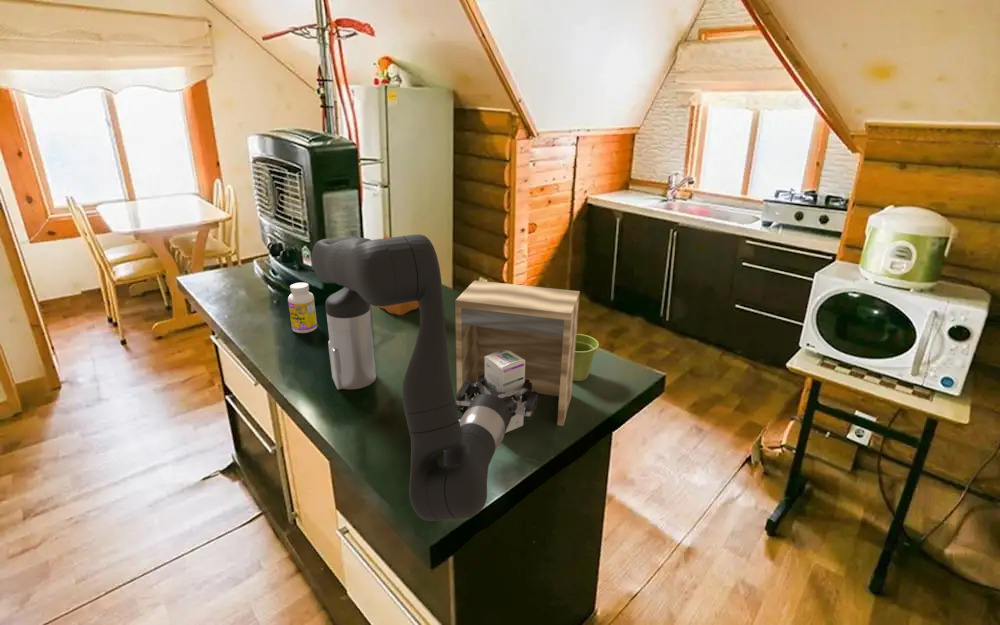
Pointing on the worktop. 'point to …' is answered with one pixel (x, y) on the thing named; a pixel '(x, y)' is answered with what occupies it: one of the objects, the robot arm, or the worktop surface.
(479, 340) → the hutch
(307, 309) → the supplement bottle
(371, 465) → the worktop surface
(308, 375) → the worktop surface
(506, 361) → the syrup box
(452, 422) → the robot arm
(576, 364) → the plant pot
